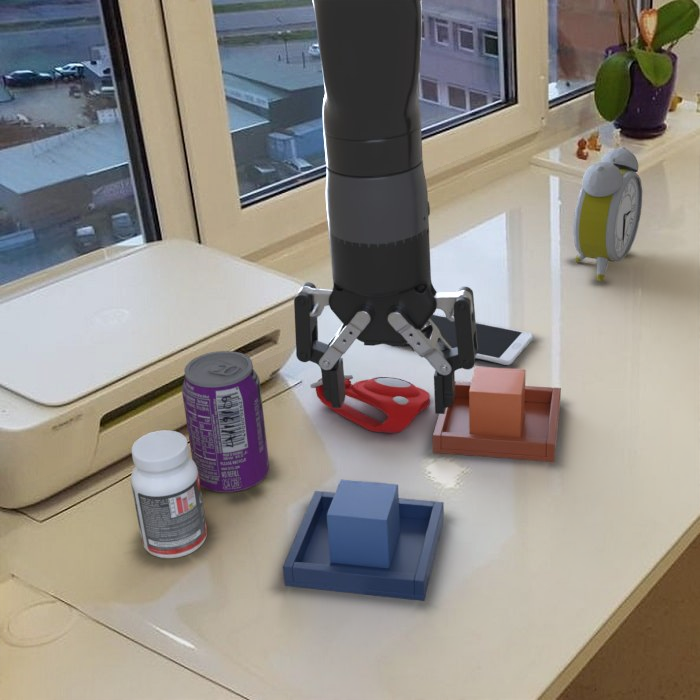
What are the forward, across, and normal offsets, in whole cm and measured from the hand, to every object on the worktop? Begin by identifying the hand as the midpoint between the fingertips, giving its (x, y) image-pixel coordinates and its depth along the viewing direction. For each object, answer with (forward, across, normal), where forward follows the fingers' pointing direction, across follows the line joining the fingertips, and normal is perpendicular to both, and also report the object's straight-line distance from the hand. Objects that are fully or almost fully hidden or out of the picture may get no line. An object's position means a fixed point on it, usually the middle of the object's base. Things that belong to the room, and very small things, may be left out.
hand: (390, 406), depth 87 cm
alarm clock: (+13, +16, +58) cm, 62 cm away
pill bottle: (+12, -19, -4) cm, 23 cm away
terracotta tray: (+13, +7, +18) cm, 23 cm away
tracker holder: (+13, -6, +20) cm, 24 cm away
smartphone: (+13, +1, +36) cm, 38 cm away
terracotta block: (+12, +7, +18) cm, 23 cm away
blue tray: (+13, -2, -3) cm, 13 cm away
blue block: (+12, -2, -3) cm, 13 cm away
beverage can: (+13, -17, +6) cm, 22 cm away
